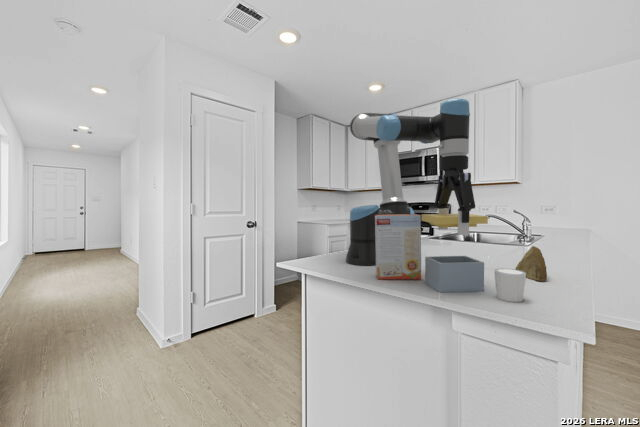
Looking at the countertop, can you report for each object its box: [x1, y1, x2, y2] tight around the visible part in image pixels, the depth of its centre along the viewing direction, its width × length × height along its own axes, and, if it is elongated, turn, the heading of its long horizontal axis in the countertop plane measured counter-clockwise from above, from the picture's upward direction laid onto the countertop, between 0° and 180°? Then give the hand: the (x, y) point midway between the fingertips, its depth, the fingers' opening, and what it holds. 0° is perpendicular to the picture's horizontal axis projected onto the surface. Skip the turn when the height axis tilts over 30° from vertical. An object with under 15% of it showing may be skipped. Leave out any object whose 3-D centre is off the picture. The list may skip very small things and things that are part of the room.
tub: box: [424, 255, 485, 293], centre depth 84 cm, size 10×13×8 cm
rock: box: [514, 245, 548, 282], centre depth 92 cm, size 11×9×10 cm
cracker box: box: [375, 213, 422, 281], centre depth 94 cm, size 14×6×21 cm, turn 84°
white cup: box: [493, 268, 526, 303], centre depth 74 cm, size 7×7×7 cm
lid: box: [421, 213, 489, 228], centre depth 84 cm, size 11×14×3 cm
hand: (452, 231), depth 84 cm, fingers closed on lid, 11 cm apart
